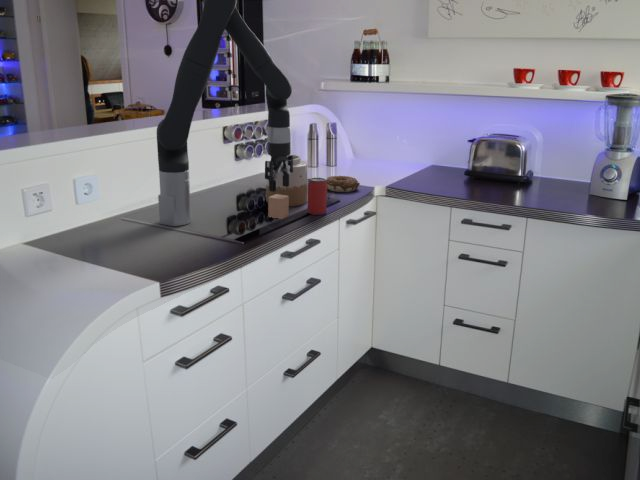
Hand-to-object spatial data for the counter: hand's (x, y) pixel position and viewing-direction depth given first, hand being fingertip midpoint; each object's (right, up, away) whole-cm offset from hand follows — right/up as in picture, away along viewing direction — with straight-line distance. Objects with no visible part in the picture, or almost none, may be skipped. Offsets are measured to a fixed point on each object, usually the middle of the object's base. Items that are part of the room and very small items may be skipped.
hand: (279, 188), depth 202 cm
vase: (+1, -3, +23) cm, 23 cm away
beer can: (+13, -8, +8) cm, 17 cm away
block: (-1, -9, +3) cm, 10 cm away
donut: (+23, +3, +43) cm, 49 cm away
